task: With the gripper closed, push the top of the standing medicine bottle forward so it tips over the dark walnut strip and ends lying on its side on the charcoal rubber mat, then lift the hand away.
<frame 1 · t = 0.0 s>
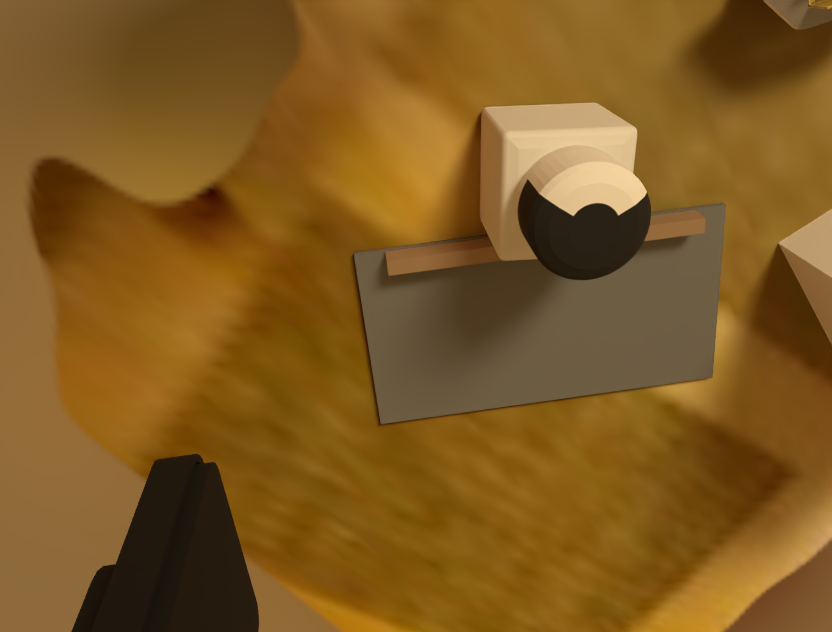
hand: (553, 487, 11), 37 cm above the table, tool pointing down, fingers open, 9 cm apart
medicine bottle: (536, 161, 47), on the table
tipping mat: (543, 317, 51), on the table
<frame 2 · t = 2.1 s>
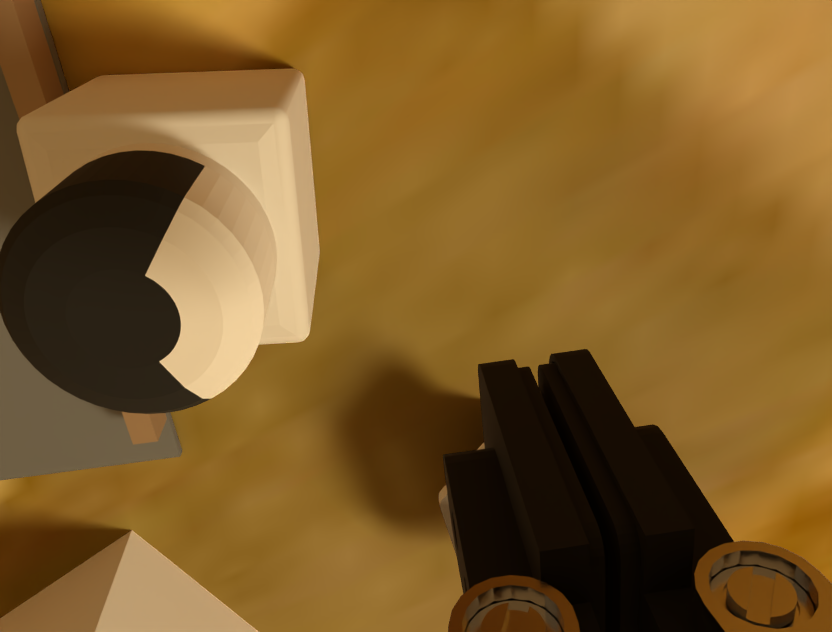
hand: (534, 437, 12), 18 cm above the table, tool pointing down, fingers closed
medicine bottle: (216, 169, 28), on the table
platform: (484, 466, 35), on the table
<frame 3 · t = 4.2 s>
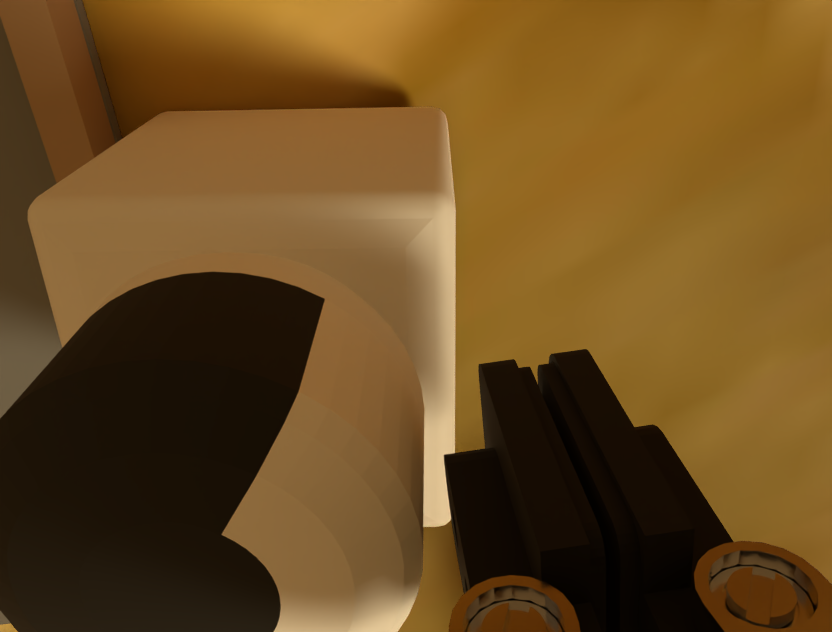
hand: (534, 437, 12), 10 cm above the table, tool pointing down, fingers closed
medicine bottle: (314, 239, 20), on the table, touching gripper
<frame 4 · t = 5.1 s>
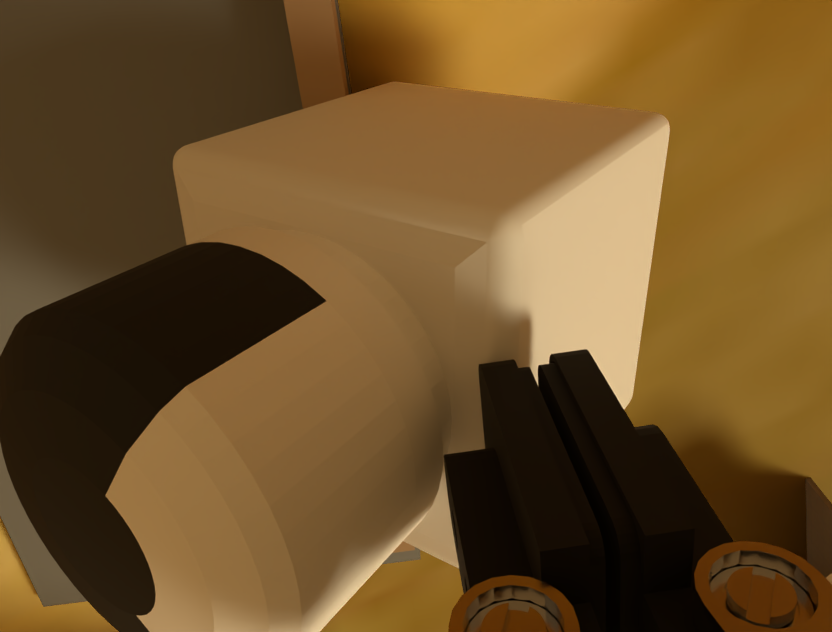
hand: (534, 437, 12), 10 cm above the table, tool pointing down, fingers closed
medicine bottle: (516, 236, 19), point 2 cm above the table, touching gripper
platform: (777, 553, 28), on the table
tipping mat: (136, 255, 21), on the table
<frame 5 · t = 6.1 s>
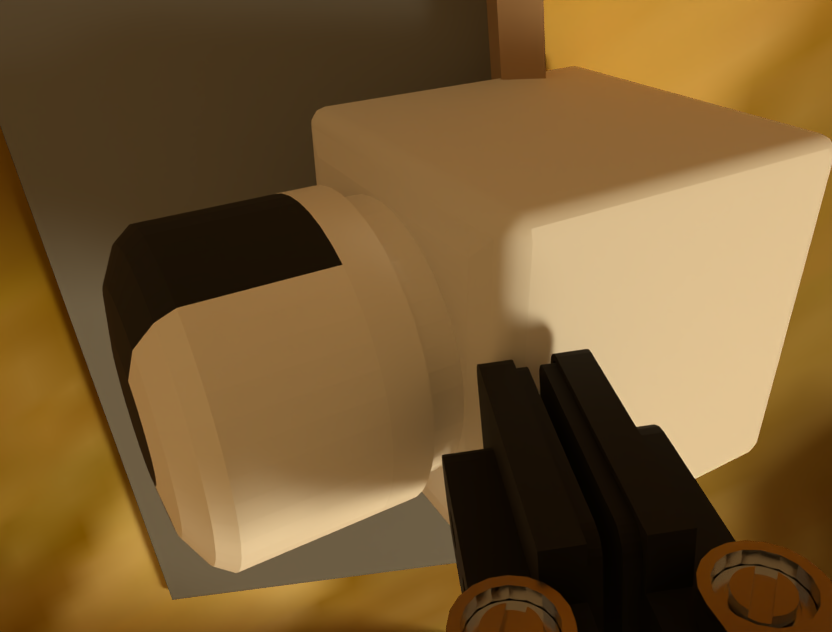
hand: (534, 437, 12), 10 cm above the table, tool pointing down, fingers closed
medicine bottle: (670, 245, 18), point 3 cm above the table, touching gripper, tipping mat
tipping mat: (299, 241, 20), on the table
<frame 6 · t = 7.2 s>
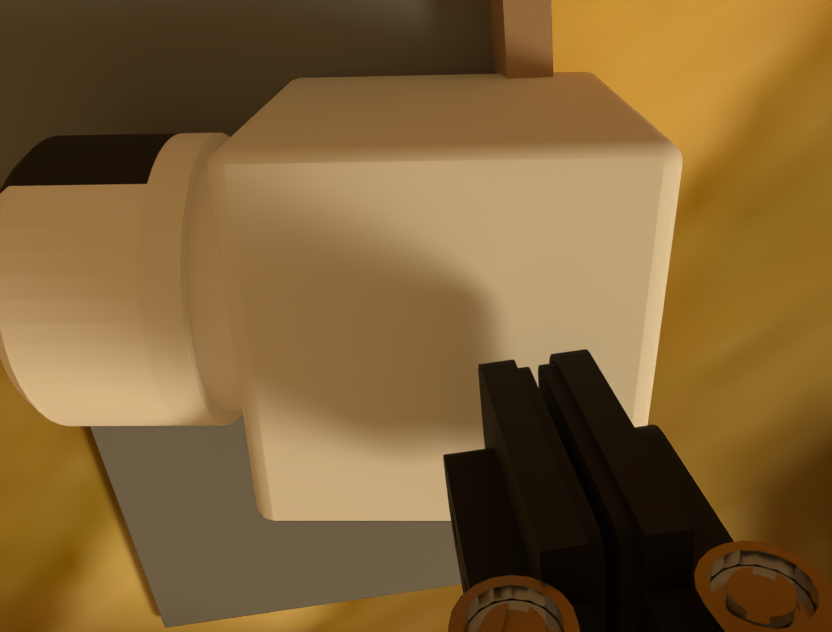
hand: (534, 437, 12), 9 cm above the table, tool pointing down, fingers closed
medicine bottle: (626, 275, 15), point 5 cm above the table, touching tipping mat
tipping mat: (296, 257, 20), on the table
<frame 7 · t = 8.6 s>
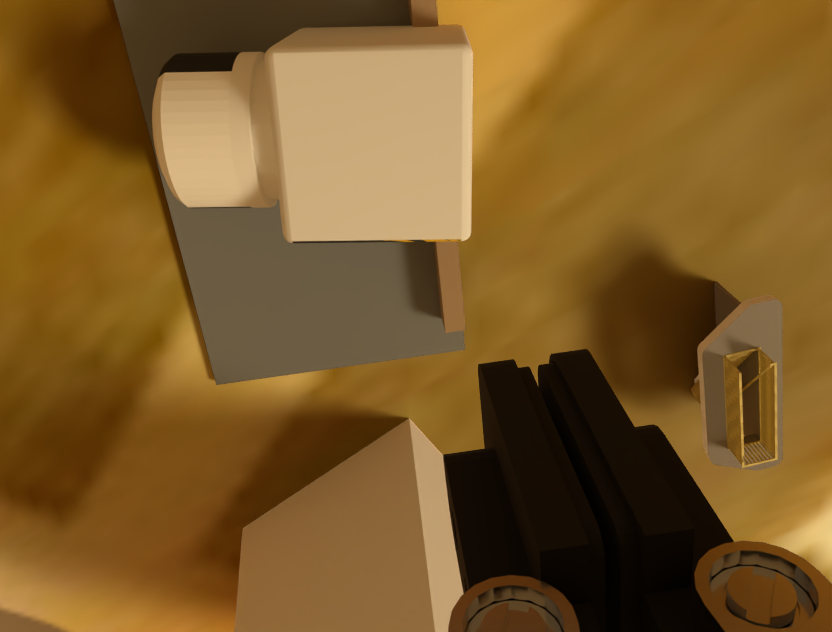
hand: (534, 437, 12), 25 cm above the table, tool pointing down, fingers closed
medicine bottle: (473, 127, 30), point 5 cm above the table, touching tipping mat
milk: (384, 531, 45), on the table
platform: (698, 344, 42), on the table
tipping mat: (300, 135, 34), on the table
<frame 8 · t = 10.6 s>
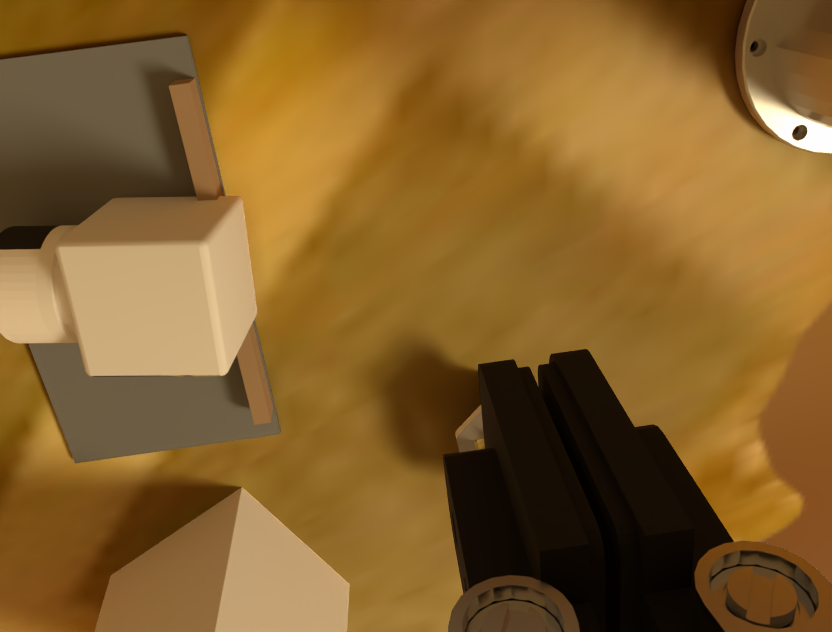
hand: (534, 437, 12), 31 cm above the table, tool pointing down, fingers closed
medicine bottle: (239, 282, 38), point 5 cm above the table, touching tipping mat
milk: (233, 577, 54), on the table
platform: (482, 421, 50), on the table
tipping mat: (125, 273, 43), on the table
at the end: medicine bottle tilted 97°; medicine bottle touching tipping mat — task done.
